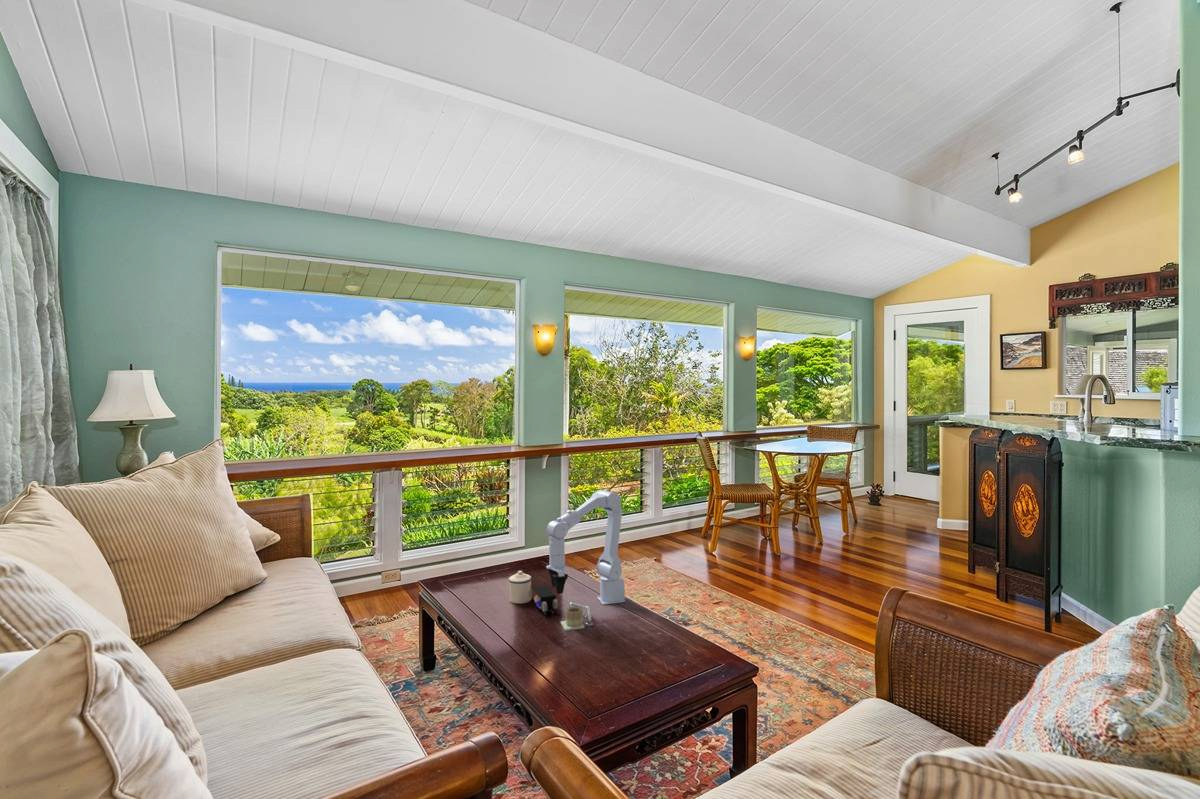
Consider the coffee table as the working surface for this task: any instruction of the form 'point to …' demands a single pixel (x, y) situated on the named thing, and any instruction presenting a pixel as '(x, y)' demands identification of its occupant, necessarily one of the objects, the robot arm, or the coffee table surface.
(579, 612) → the maple ring
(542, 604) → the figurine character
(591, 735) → the coffee table surface
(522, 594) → the teacup with lid
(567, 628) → the pad
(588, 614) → the grey piece
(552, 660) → the coffee table surface
